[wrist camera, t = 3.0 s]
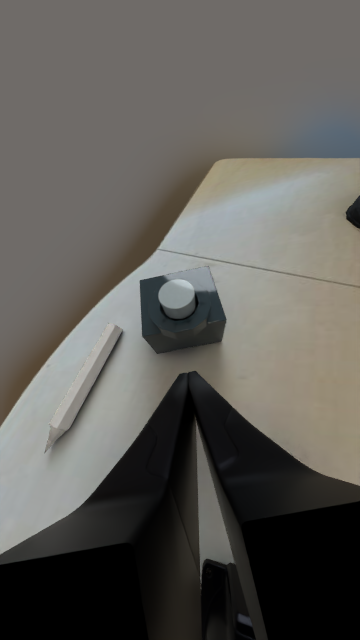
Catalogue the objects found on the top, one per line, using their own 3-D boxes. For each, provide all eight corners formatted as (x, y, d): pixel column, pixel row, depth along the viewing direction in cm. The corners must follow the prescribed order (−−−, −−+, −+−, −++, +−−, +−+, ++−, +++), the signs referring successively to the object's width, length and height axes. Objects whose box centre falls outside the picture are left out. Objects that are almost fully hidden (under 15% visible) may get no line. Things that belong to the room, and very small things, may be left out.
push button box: (224, 349, 22) (232, 321, 15) (157, 362, 23) (136, 340, 16) (208, 294, 27) (208, 253, 20) (152, 306, 27) (134, 269, 20)
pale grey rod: (55, 449, 20) (118, 330, 26) (59, 459, 19) (125, 331, 25) (30, 449, 18) (104, 322, 25) (33, 459, 17) (110, 322, 23)
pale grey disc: (198, 315, 16) (198, 304, 15) (164, 322, 17) (159, 312, 15) (192, 289, 18) (190, 275, 16) (161, 295, 18) (156, 282, 17)
